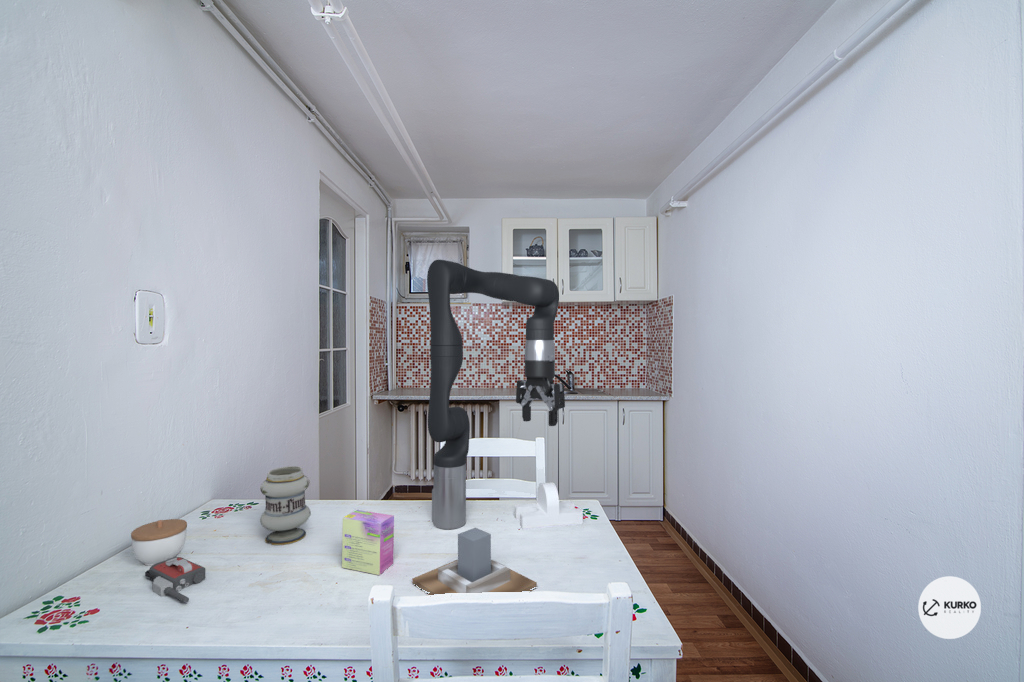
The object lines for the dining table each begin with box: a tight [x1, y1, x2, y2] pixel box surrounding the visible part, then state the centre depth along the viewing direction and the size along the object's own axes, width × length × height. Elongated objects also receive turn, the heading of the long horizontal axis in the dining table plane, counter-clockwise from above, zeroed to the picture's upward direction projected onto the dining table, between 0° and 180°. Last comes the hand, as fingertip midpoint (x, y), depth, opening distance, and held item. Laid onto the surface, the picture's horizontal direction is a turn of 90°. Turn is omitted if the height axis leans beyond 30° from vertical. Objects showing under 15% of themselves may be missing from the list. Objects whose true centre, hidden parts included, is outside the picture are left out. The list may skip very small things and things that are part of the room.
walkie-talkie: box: [144, 556, 206, 603], centre depth 101 cm, size 9×4×20 cm
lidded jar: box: [130, 518, 188, 567], centre depth 112 cm, size 11×11×9 cm
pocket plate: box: [411, 559, 538, 596], centre depth 100 cm, size 20×18×4 cm
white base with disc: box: [514, 481, 584, 530], centre depth 137 cm, size 18×10×11 cm, turn 103°
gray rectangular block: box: [457, 527, 492, 582], centre depth 100 cm, size 5×5×10 cm
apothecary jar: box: [259, 465, 311, 546], centre depth 124 cm, size 12×12×18 cm
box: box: [341, 509, 395, 576], centre depth 109 cm, size 10×6×12 cm, turn 71°
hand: (539, 423), depth 116 cm, fingers open, 8 cm apart
